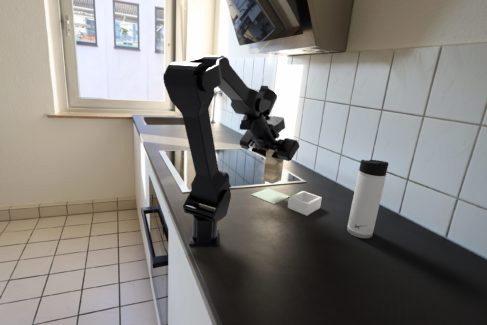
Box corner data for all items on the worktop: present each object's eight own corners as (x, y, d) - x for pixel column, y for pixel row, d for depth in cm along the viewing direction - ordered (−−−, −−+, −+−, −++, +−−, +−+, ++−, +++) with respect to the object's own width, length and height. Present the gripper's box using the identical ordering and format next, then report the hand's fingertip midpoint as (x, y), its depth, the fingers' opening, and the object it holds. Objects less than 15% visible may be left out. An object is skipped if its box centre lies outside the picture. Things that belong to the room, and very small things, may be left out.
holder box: (306, 215, 82) (308, 204, 81) (287, 207, 86) (288, 197, 85) (320, 207, 88) (321, 197, 87) (301, 200, 92) (302, 190, 91)
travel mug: (357, 240, 71) (374, 163, 66) (342, 227, 77) (356, 155, 72) (378, 238, 73) (396, 163, 67) (361, 225, 79) (376, 155, 73)
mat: (273, 204, 88) (273, 203, 88) (251, 195, 94) (251, 194, 94) (289, 197, 95) (289, 196, 95) (267, 188, 100) (267, 188, 100)
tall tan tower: (272, 183, 90) (276, 144, 86) (263, 180, 92) (267, 142, 88) (281, 180, 93) (285, 142, 90) (272, 177, 95) (276, 140, 92)
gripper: (300, 111, 77) (314, 146, 89) (248, 103, 89) (266, 135, 100) (280, 143, 74) (297, 175, 85) (229, 130, 85) (249, 160, 97)
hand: (277, 160), depth 92 cm, fingers closed on tall tan tower, 3 cm apart
